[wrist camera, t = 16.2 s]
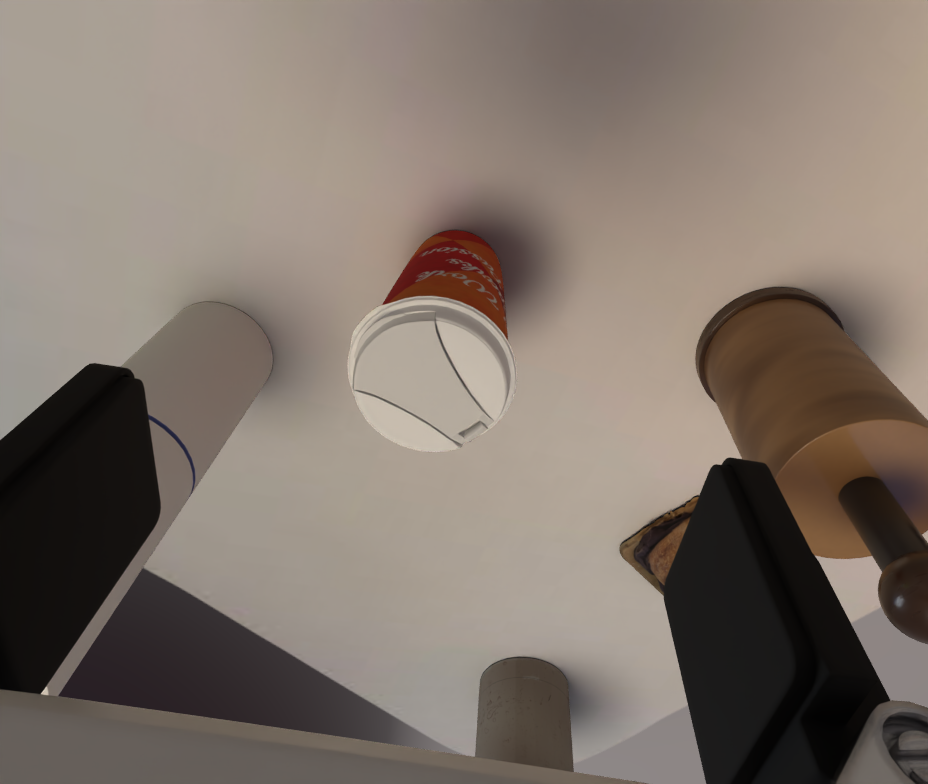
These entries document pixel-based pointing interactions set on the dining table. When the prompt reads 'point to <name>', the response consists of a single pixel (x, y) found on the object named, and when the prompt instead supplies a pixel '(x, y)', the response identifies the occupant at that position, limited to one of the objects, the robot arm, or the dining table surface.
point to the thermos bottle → (525, 715)
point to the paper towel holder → (827, 437)
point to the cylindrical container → (185, 421)
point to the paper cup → (437, 348)
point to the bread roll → (658, 545)
